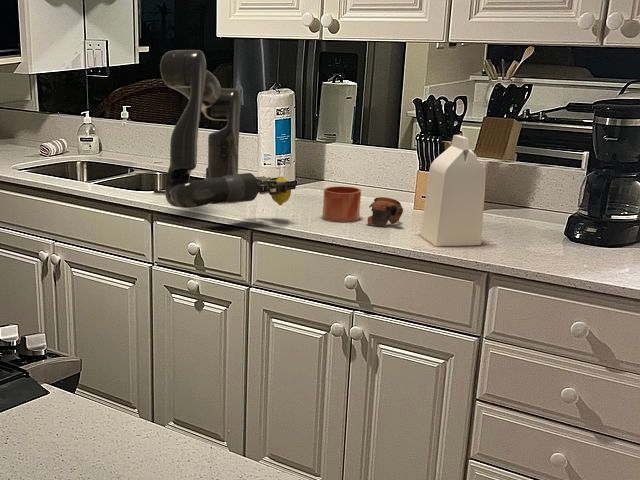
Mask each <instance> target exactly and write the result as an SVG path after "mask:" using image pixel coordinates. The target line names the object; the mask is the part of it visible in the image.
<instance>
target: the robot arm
mask: <svg viewBox="0 0 640 480" xmlns="http://www.w3.org/2000/svg"><path fill="white" fill-rule="evenodd" d="M159 72H160V76H161V80H162V81H163V83H164V84H165V85H166V86H167V87H168V88H170V89H173V90H174V91H177V92H179V93H180V94H182V95H183V96H184V97H186V98H187V99H188V102H187V103H186V106H185V108H184V111H183V113H182V114H181V116H180V118H179V119H178V121H177V123H176V124H175V125H174V128H173V130H172V133H171V136H170V143H169V145H170V146H169V166H168V170H167V175H166V180H165V185H164V190H159V189H158V190H156V189H154V190H153V194H164V196H165V200H166V201H167V203H168V204H169V205H170V206H172V207H175V208H182V209H192V208H200V207H204V206H207V205H218V204H235V203H245V202H246V203H247V202H253V201H255V199H256V198H257V196H258V194H259V195H270V196H271V195H275V194H281V193H286V190H291V191H292V190H296V189H297V181H296V180H288V181H286V182H284V181H282V182H277V181H276V179H278V178H280V177H281V176H278V177H270V176H268V177H266V176H265V175H264V176H263V175H262V176H255V175H254V174H253V173H251V172H244V173H239V148H240V147H239V145H240V144H239V143H240V126H241V125H240V123H241V109H242V96H241V93H240V90H239V89H238V88H223V87H221V84H220V81H219V80H218V78H217V77H216V76H215V75H214V74H213V73H212V72H211V71H209V70H208V69H207V61H206V56H205V54H204V52H203V51H202V50H200V49H175V50H174V49H173V50H169V51H167V52H165V53H164V54H163V55H162V57H161V59H160V64H159ZM201 113H202V114H203V115H204V116H205V117H206V118H207V119H208V120H212V121H227V122H226V125H225V126H224V127H223V128H221V129H219V130H216V131H213V132H211V133H209V134H208V137H207V138H208V139H207V167H206V169H205V178H204V179H199V180H190V177H191V173H192V171H194V170H195V169H196V167H197V164H198V138H199V137H198V136H199V126H200V121H201ZM272 184H273V185H272Z"/></svg>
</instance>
